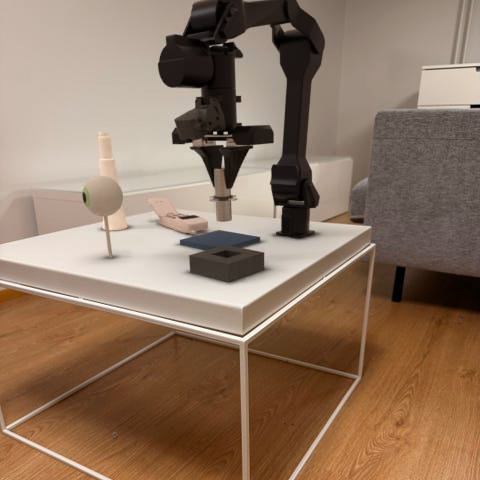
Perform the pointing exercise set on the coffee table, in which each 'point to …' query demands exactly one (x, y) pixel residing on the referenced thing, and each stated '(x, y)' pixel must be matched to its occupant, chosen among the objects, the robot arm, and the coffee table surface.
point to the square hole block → (226, 262)
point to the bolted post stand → (222, 196)
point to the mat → (219, 240)
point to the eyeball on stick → (103, 200)
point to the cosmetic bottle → (109, 170)
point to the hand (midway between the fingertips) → (222, 188)
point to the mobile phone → (176, 217)
